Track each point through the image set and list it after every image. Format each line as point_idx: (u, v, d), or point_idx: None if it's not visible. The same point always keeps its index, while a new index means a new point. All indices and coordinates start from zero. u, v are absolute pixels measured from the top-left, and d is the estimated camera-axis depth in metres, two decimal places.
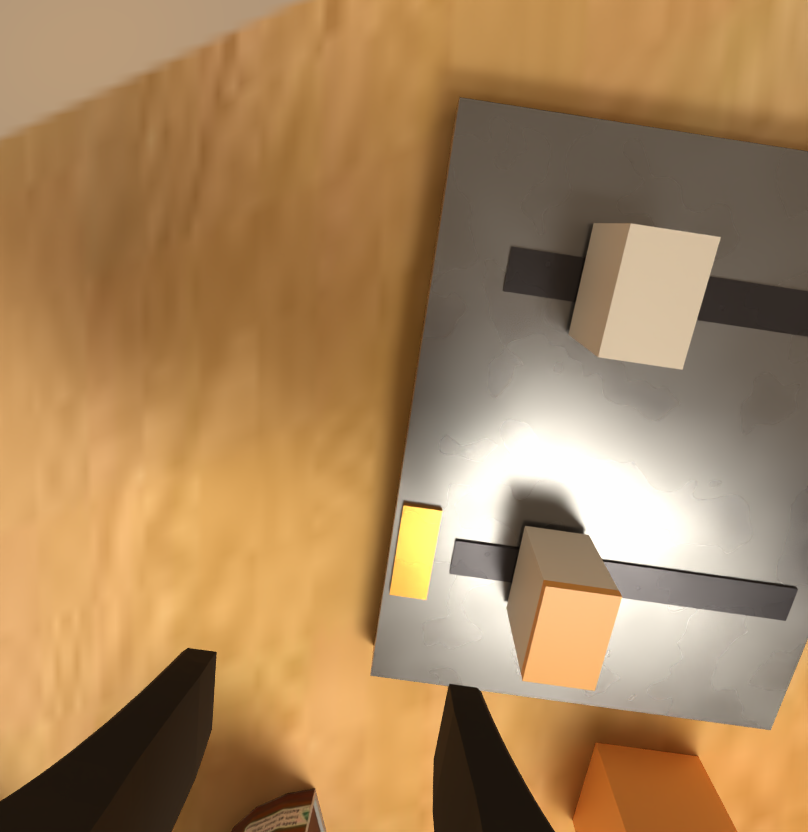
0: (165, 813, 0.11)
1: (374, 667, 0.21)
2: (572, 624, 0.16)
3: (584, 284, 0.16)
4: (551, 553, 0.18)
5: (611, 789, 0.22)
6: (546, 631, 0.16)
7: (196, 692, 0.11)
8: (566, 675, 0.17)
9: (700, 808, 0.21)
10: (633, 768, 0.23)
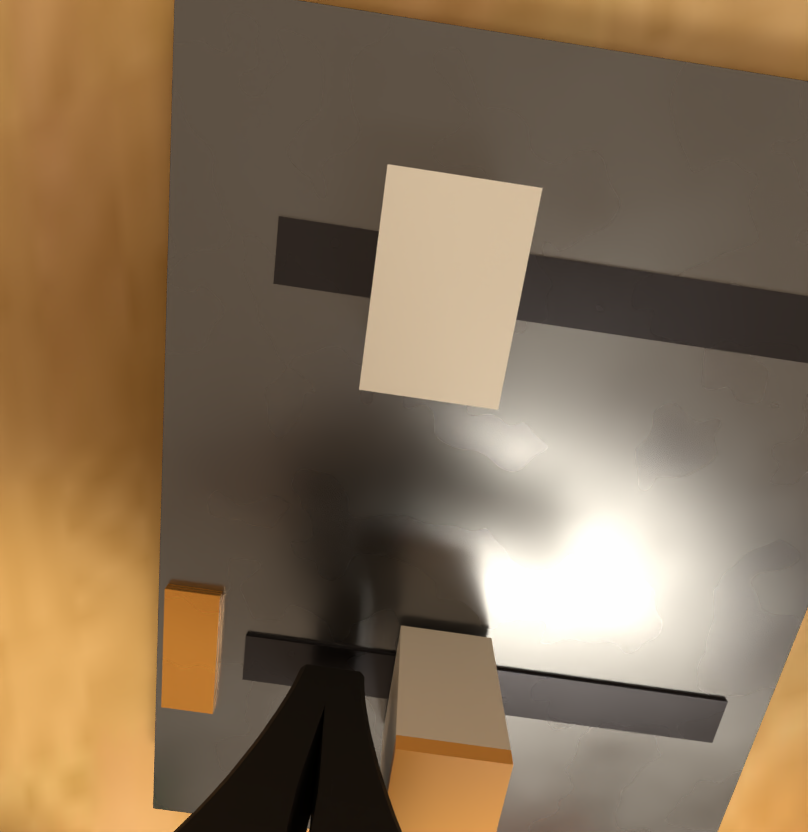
0: (301, 831, 0.11)
1: (156, 798, 0.15)
2: (440, 802, 0.11)
3: None
4: (425, 677, 0.12)
5: None
6: (402, 811, 0.11)
7: (325, 709, 0.11)
8: None
9: None
10: None
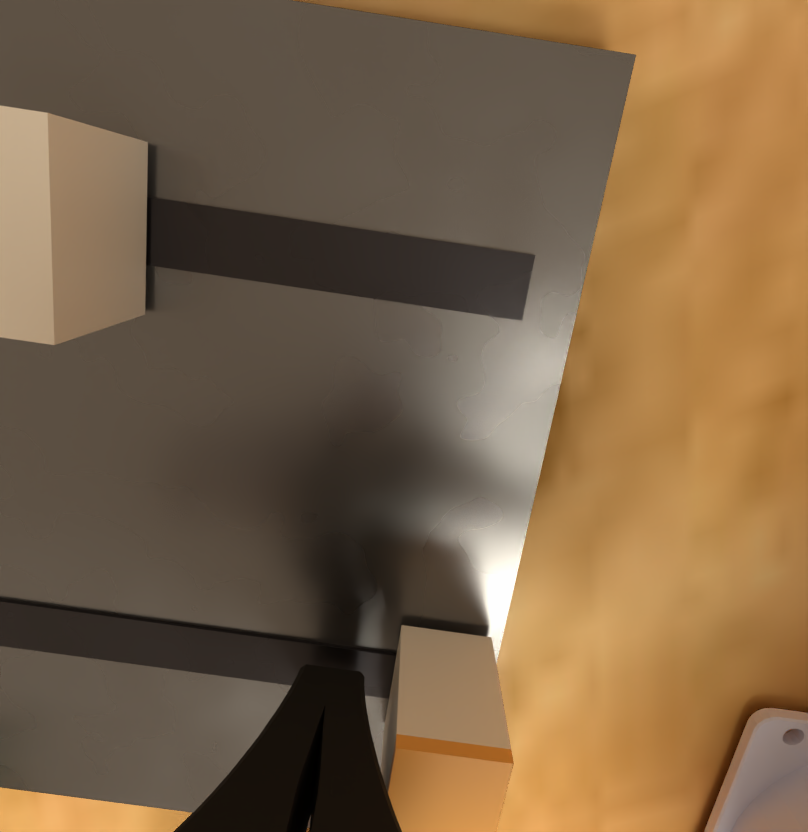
0: (301, 831, 0.11)
1: None
2: (440, 801, 0.11)
3: None
4: (425, 677, 0.12)
5: None
6: (402, 810, 0.11)
7: None
8: None
9: None
10: None
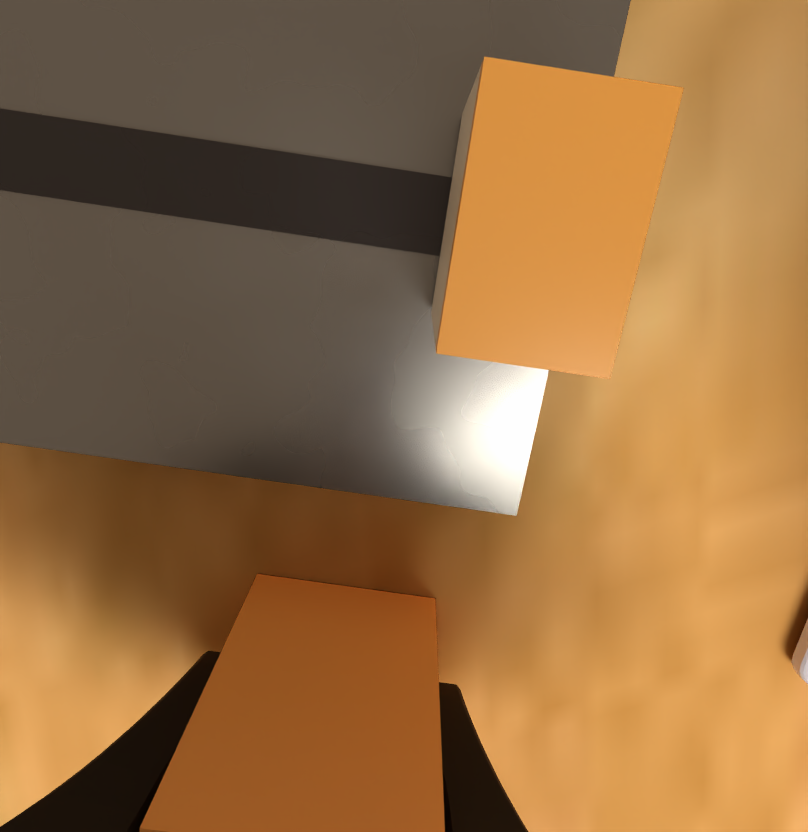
0: None
1: None
2: (555, 179, 0.06)
3: None
4: None
5: (230, 634, 0.12)
6: (490, 204, 0.06)
7: None
8: (541, 336, 0.07)
9: (388, 665, 0.11)
10: (299, 608, 0.13)
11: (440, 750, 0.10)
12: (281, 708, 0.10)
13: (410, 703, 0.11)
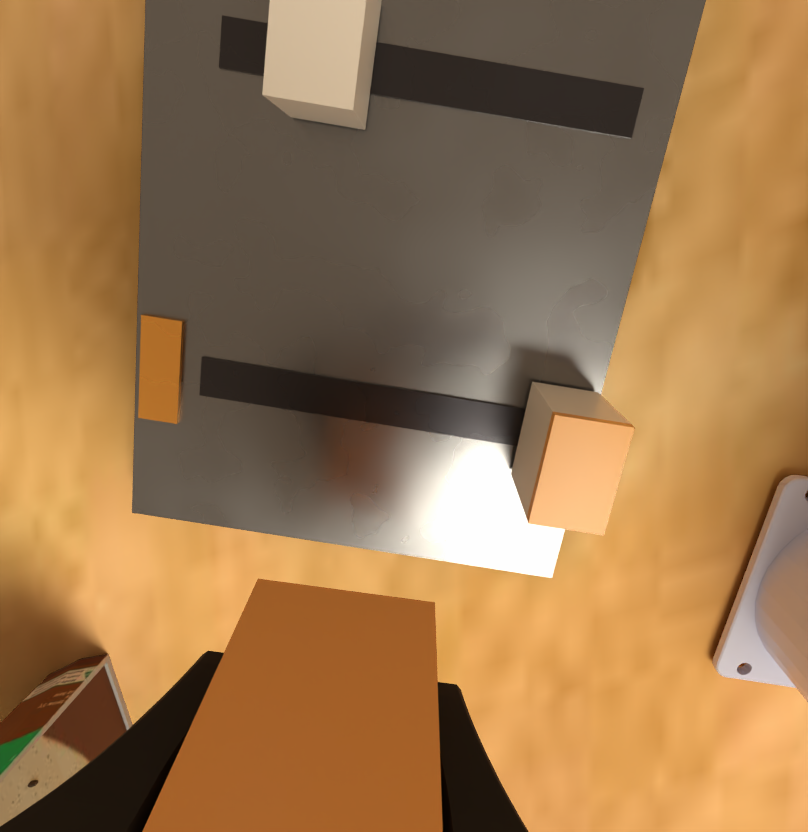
0: None
1: (134, 503, 0.20)
2: (582, 458, 0.15)
3: None
4: (560, 398, 0.17)
5: (231, 640, 0.12)
6: (554, 466, 0.15)
7: None
8: (574, 517, 0.16)
9: (387, 670, 0.12)
10: (299, 613, 0.13)
11: (439, 754, 0.10)
12: (282, 713, 0.10)
13: (410, 707, 0.11)
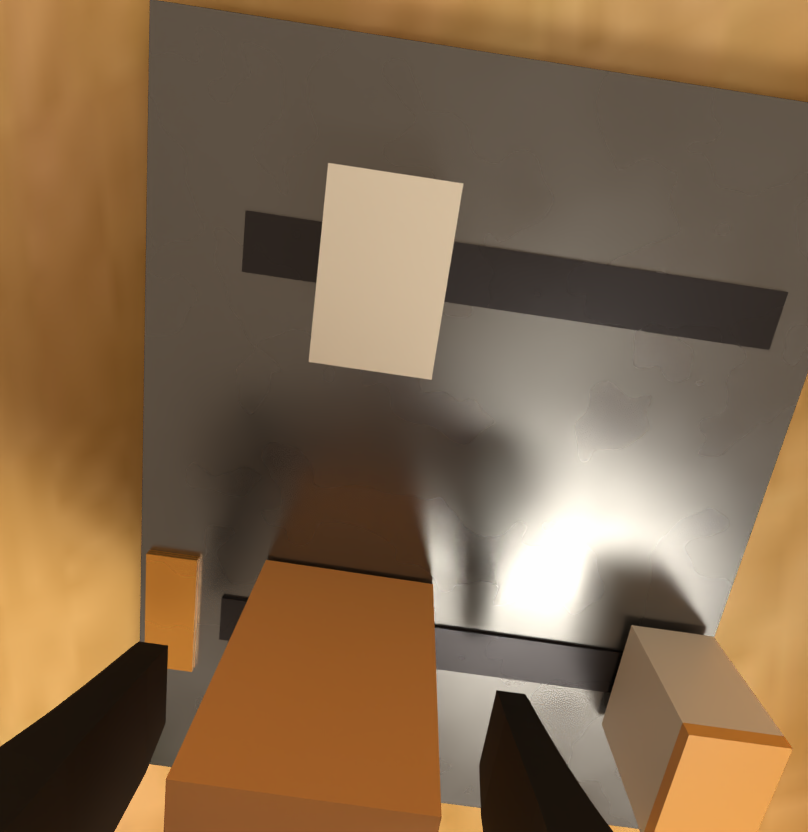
0: (110, 806, 0.11)
1: None
2: (721, 782, 0.12)
3: None
4: (678, 672, 0.13)
5: (241, 614, 0.13)
6: (685, 790, 0.12)
7: (143, 685, 0.11)
8: None
9: (389, 643, 0.12)
10: (305, 591, 0.14)
11: (436, 718, 0.11)
12: (291, 679, 0.11)
13: (409, 676, 0.12)
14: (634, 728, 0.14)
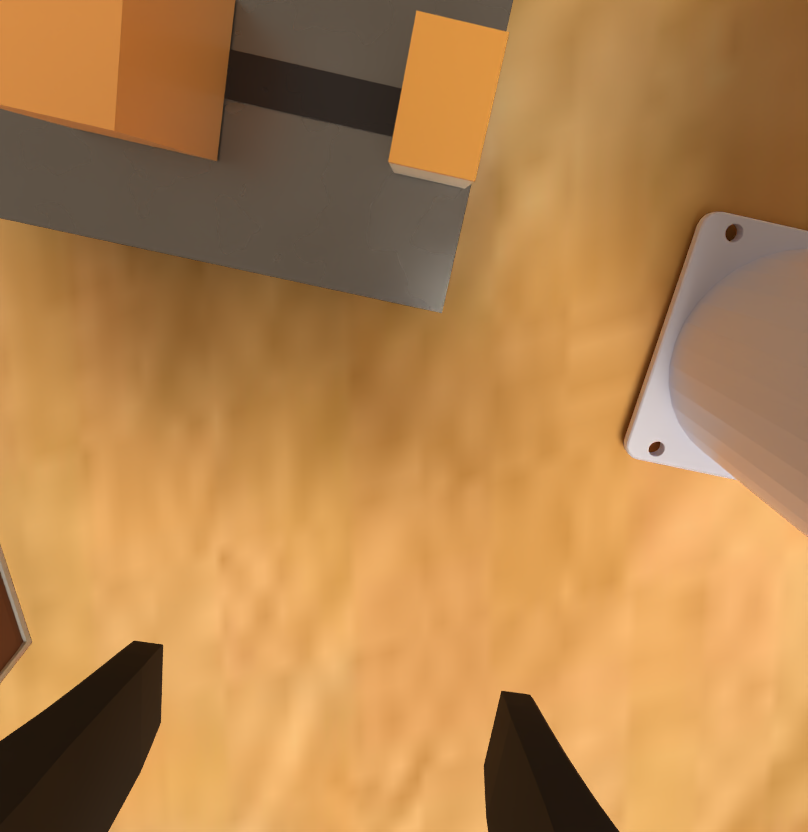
0: (104, 805, 0.11)
1: None
2: (448, 73, 0.13)
3: None
4: None
5: None
6: (417, 83, 0.13)
7: (137, 684, 0.11)
8: (441, 155, 0.14)
9: None
10: None
11: None
12: None
13: None
14: None
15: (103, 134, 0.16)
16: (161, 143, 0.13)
